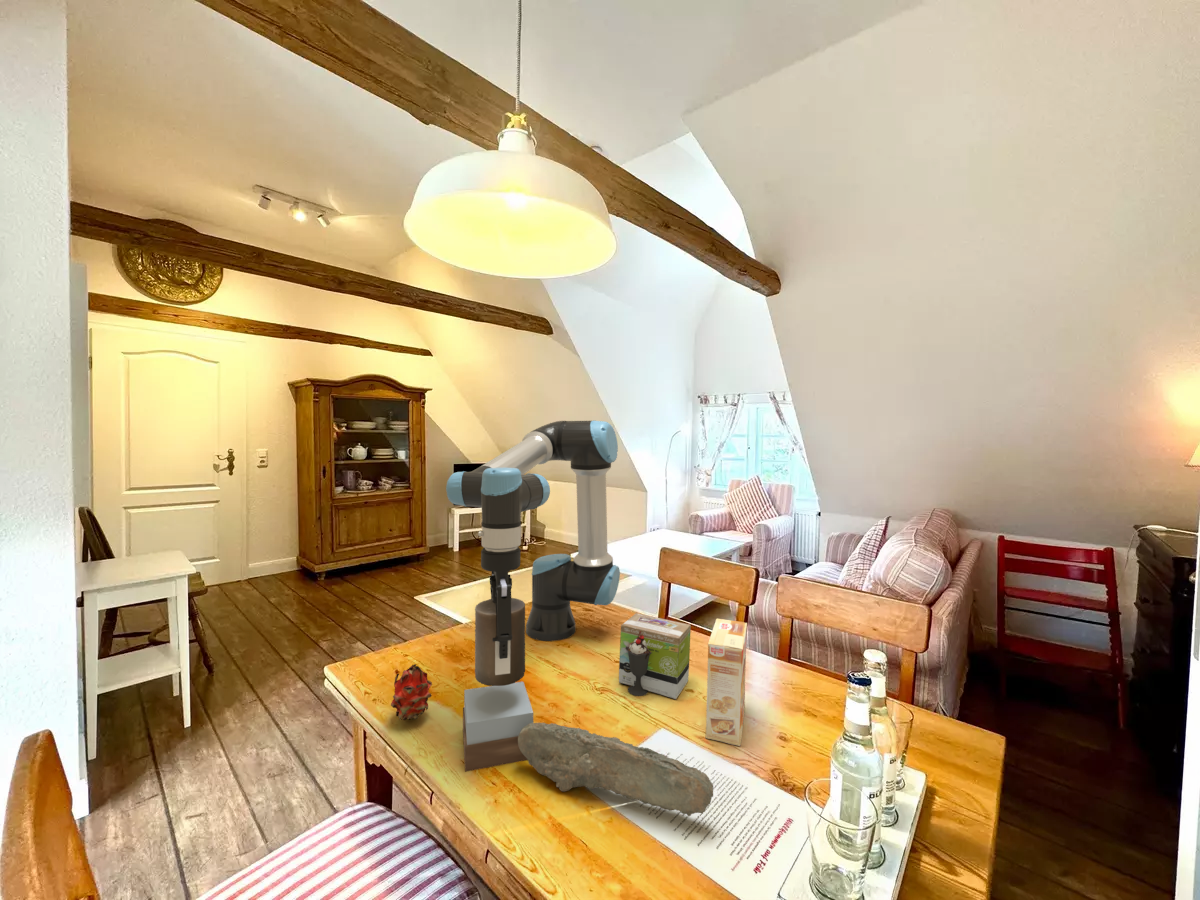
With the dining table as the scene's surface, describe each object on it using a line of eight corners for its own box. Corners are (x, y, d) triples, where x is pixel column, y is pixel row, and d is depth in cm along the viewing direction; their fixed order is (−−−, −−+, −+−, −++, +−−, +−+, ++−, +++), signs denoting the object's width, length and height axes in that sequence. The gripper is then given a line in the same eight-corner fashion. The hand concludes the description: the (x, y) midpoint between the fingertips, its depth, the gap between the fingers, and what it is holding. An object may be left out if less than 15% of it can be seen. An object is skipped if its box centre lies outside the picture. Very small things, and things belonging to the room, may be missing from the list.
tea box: (617, 684, 118) (619, 623, 118) (633, 667, 127) (635, 611, 127) (677, 700, 111) (679, 636, 111) (689, 682, 120) (691, 622, 120)
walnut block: (462, 731, 100) (462, 707, 100) (526, 721, 104) (526, 698, 104) (465, 773, 87) (465, 746, 87) (536, 760, 91) (537, 734, 91)
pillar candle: (533, 678, 94) (534, 601, 94) (485, 692, 89) (485, 611, 88) (512, 658, 102) (513, 587, 102) (467, 670, 97) (467, 595, 96)
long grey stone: (714, 813, 79) (716, 753, 78) (710, 838, 74) (711, 774, 73) (523, 760, 91) (524, 708, 90) (508, 779, 86) (509, 723, 85)
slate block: (464, 709, 99) (464, 689, 99) (523, 700, 103) (523, 681, 103) (467, 745, 88) (467, 723, 88) (533, 733, 91) (533, 712, 91)
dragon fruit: (379, 727, 100) (379, 670, 100) (405, 705, 108) (405, 652, 108) (415, 734, 98) (415, 676, 97) (439, 711, 106) (439, 657, 106)
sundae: (634, 700, 111) (636, 635, 111) (618, 687, 117) (621, 625, 117) (657, 694, 114) (659, 631, 114) (641, 681, 120) (643, 621, 120)
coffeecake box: (741, 747, 95) (743, 649, 95) (704, 738, 98) (706, 643, 97) (746, 707, 109) (748, 621, 109) (713, 701, 112) (715, 617, 111)
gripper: (478, 536, 104) (477, 639, 105) (484, 563, 83) (483, 692, 83) (513, 535, 106) (512, 636, 107) (528, 560, 85) (527, 686, 86)
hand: (500, 660), depth 95 cm, fingers closed on pillar candle, 10 cm apart
